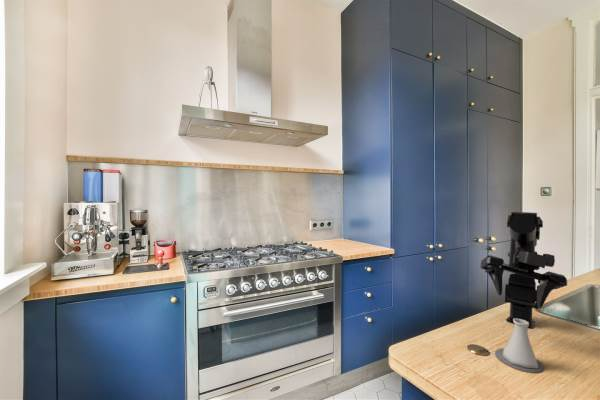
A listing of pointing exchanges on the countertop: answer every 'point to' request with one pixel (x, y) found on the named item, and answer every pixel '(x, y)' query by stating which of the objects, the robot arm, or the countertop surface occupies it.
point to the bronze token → (478, 350)
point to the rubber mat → (531, 370)
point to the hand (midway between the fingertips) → (519, 301)
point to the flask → (520, 346)
